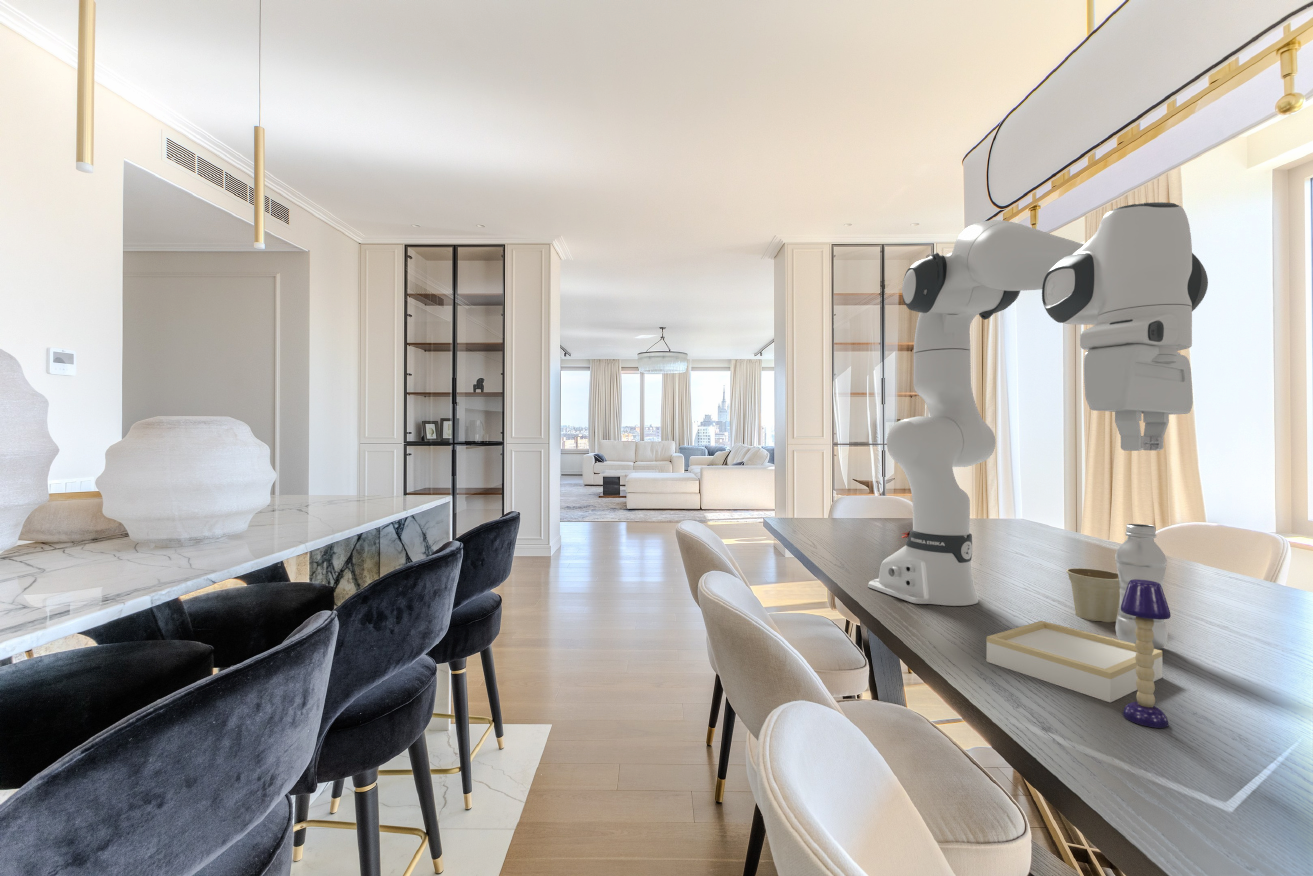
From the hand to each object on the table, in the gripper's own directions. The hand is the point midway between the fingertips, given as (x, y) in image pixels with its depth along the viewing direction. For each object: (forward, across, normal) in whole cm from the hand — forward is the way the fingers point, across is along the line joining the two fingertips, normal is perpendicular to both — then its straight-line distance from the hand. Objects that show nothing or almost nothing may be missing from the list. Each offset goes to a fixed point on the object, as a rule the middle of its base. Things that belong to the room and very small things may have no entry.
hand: (1142, 450), depth 70 cm
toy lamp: (+33, 0, 0) cm, 33 cm away
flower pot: (+33, -42, -22) cm, 58 cm away
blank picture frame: (+33, -10, -12) cm, 36 cm away
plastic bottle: (+33, -30, -11) cm, 46 cm away
